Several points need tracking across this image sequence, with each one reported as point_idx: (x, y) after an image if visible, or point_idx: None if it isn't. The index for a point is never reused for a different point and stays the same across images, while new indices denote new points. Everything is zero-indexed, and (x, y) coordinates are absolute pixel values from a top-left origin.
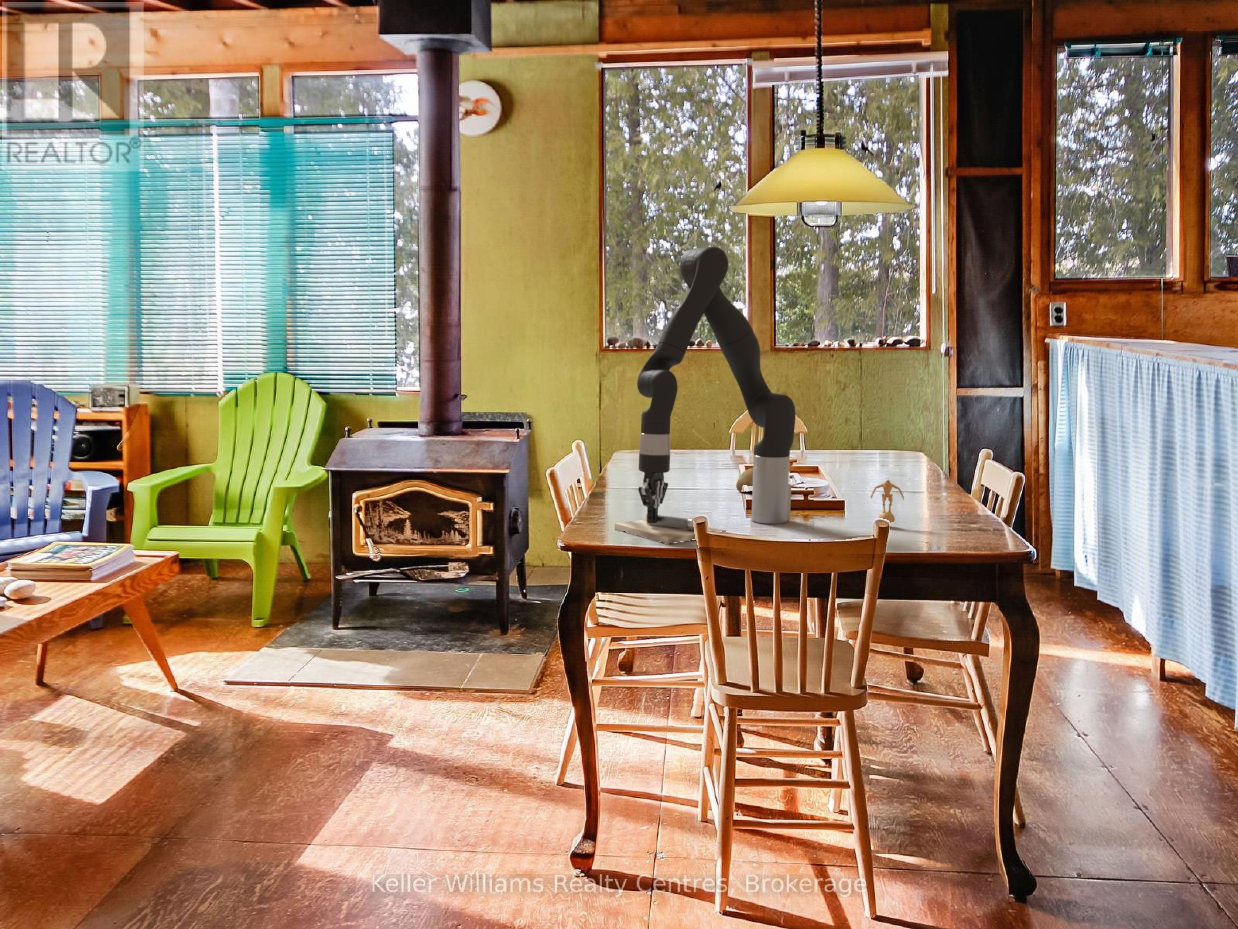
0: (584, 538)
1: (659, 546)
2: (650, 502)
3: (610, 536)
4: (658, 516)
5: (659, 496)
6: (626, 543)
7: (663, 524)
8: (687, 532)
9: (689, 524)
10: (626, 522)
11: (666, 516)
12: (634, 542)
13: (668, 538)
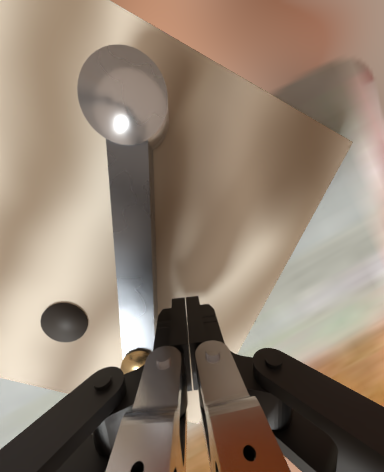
0: None
1: (371, 158)
2: (319, 378)
3: (295, 358)
4: (153, 315)
5: (175, 423)
6: (368, 272)
7: (155, 272)
8: (200, 120)
9: (167, 115)
10: None
11: (127, 285)
12: (344, 260)
13: (347, 141)
